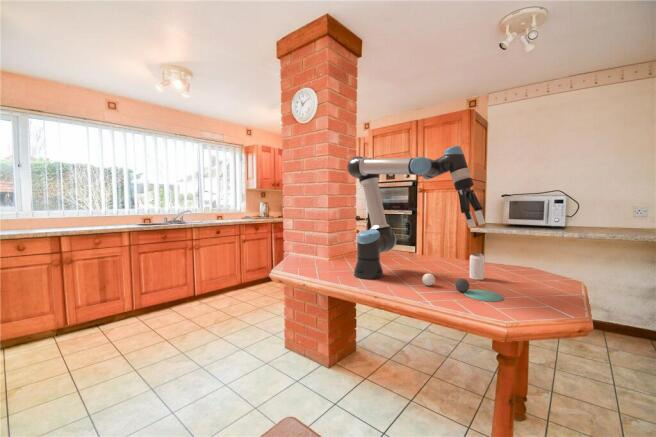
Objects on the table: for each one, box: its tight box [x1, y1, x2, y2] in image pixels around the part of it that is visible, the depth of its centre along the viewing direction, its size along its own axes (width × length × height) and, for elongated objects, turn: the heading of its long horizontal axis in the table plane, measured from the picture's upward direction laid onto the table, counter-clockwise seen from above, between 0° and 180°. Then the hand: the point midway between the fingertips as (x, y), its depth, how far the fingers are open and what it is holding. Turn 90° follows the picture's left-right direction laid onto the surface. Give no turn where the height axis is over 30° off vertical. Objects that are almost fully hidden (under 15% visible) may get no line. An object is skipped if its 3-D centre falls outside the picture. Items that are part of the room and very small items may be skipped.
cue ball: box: [421, 273, 436, 286], centre depth 124 cm, size 6×6×6 cm
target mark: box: [463, 288, 504, 303], centre depth 111 cm, size 14×14×1 cm
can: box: [469, 253, 486, 281], centre depth 134 cm, size 6×6×12 cm
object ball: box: [454, 278, 470, 293], centre depth 115 cm, size 6×6×6 cm
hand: (477, 225), depth 118 cm, fingers open, 13 cm apart
